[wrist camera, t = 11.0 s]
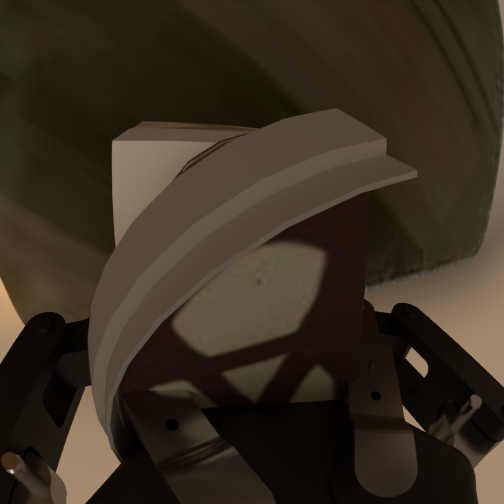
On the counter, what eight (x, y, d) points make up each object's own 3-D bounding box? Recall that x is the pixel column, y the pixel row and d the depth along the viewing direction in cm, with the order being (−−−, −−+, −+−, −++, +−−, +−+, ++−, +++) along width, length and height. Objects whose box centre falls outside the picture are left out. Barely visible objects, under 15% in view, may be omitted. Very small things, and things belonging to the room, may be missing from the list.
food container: (93, 134, 11) (-76, 256, 2) (242, 97, 11) (419, 126, 3) (172, 353, 17) (192, 523, 8) (276, 328, 18) (345, 486, 9)
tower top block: (278, 136, 18) (308, 151, 14) (259, 262, 23) (279, 305, 18) (129, 128, 16) (112, 141, 12) (131, 262, 20) (122, 308, 16)
